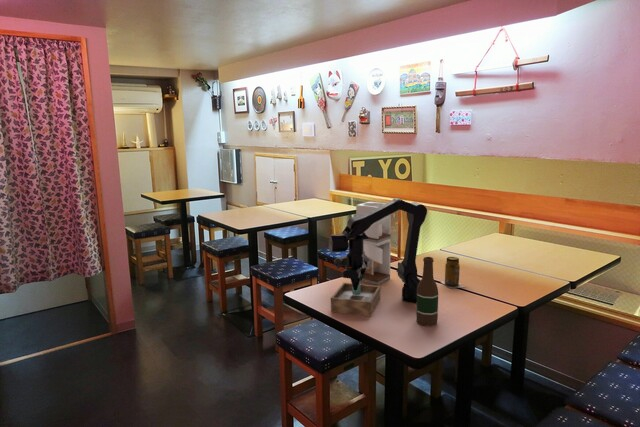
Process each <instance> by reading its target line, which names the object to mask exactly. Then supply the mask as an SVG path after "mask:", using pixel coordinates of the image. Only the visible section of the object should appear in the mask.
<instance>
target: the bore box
mask: <svg viewBox="0 0 640 427" xmlns="http://www.w3.org/2000/svg"><path fill="white" fill-rule="evenodd" d="M360 289H361V294H360V295H353V294H352V282H350V283H349V282H343V283H342V284H341V285H340V286H339V287H338V288H337V290H336V291H335V292H334V293H333V294H332V296H331V297H330V312H332V313H338V312H340V313H339V314H347V313H349V314H348V315H355V314H356V315H358V316H363V317H364V316H365V317H372V315H373V313H374V312H375V310H376V308H377V306H378V305H379V302H380V300H381V285H370V284H362V283H360Z"/></svg>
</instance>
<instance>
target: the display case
mask: <svg viewBox="0 0 640 427" xmlns="http://www.w3.org/2000/svg"><path fill="white" fill-rule="evenodd" d="M386 203H387V202H386ZM386 203H384V202H378V201H377V202H376V201H367V202H366V201H365V202H362V203H359V204H356V206H355V210H356V211H355V212H356V214H355V215H356V216H358V215H363V214H367V213H369V212H371V211H373V210H375V209H377V208H379V207H381V206H383V205H384V204H386ZM391 220H392V214H390V215H388V216H386V217H384V218H383V219H381V220H379V221H377V222H375V223H373V224H372V225H371V226H370V227H369V229H367V230H366V231H365V232H364V233H365V234H366V235H367V236H368V237H369V239H364V252H365V255H364V258H367V259H368V260H369V265H368V267H367V266H366V264H365V265H364V266H363V268H366V271H365V274H364V276H363V279H362V281H361V282H366V283H368V284H374V285H375V286H379V285H380V284H382V283H384V282H386V281H388V280H391V250H392V249H391V242H392V241H391V238H392V237H391V235H392V234H391V231H392V226H391V225H392V221H391Z"/></svg>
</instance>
